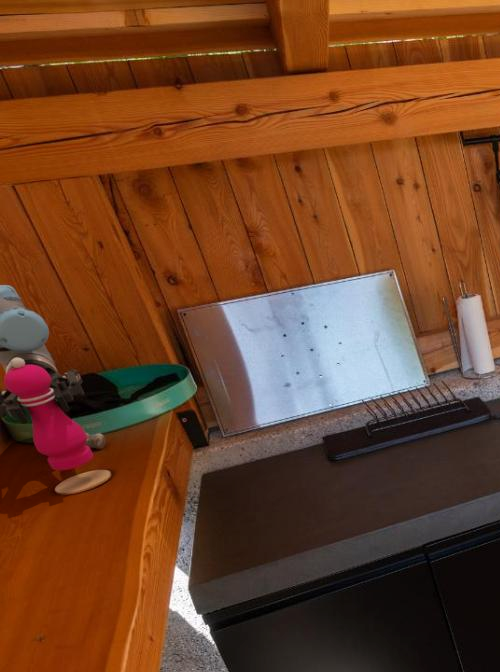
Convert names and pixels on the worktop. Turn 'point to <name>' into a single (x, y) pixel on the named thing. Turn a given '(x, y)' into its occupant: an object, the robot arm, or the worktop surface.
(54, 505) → the worktop surface
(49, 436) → the pepper mill
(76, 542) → the worktop surface
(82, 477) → the cork mat
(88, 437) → the stone
